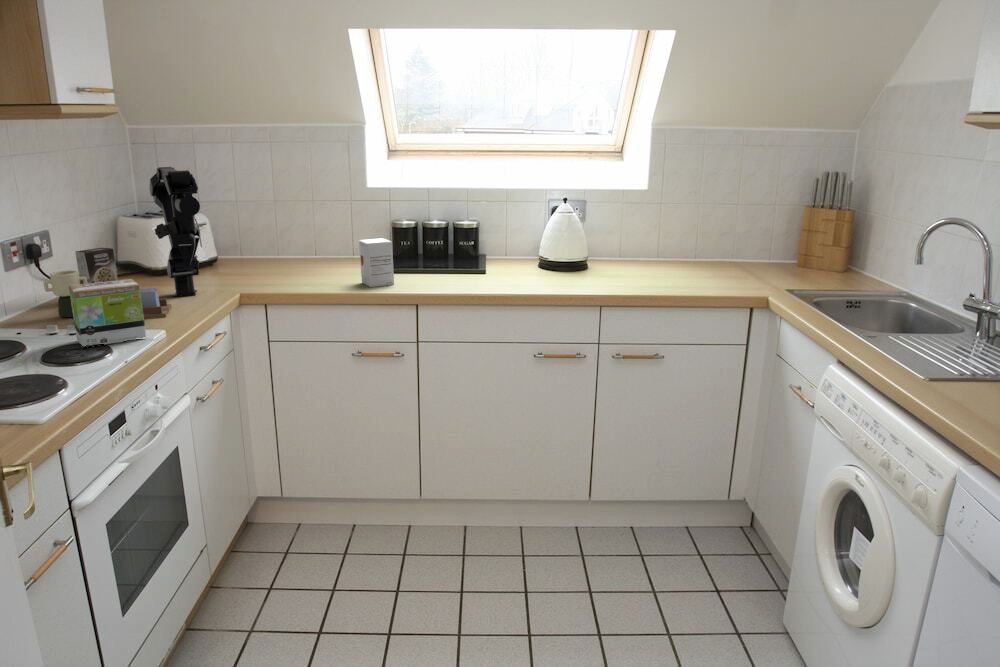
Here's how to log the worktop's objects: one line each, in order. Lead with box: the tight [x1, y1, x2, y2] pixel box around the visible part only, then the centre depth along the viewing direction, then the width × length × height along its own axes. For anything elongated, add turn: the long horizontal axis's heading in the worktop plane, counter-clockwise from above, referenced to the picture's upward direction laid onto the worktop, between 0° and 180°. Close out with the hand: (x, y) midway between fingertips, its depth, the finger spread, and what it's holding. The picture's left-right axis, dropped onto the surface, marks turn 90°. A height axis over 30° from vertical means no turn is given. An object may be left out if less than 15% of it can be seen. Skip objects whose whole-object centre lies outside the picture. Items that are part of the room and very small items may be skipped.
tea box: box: [69, 278, 147, 347], centre depth 190 cm, size 15×10×15 cm, turn 126°
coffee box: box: [74, 247, 119, 284], centre depth 235 cm, size 9×6×16 cm
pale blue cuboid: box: [140, 287, 160, 307], centre depth 217 cm, size 5×9×6 cm, turn 106°
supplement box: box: [358, 237, 395, 288], centre depth 253 cm, size 9×9×15 cm
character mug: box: [43, 270, 88, 318], centre depth 215 cm, size 11×7×13 cm, turn 118°
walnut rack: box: [142, 298, 172, 320], centre depth 217 cm, size 12×14×3 cm
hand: (189, 263), depth 229 cm, fingers open, 9 cm apart
